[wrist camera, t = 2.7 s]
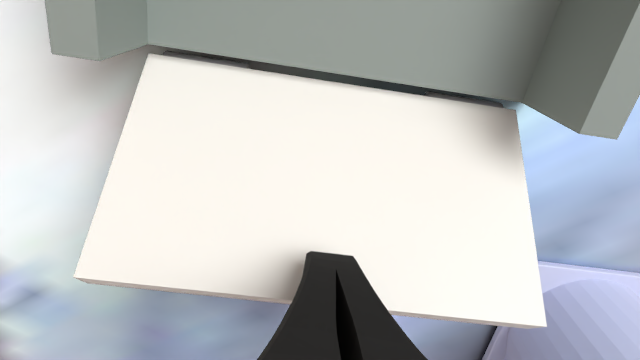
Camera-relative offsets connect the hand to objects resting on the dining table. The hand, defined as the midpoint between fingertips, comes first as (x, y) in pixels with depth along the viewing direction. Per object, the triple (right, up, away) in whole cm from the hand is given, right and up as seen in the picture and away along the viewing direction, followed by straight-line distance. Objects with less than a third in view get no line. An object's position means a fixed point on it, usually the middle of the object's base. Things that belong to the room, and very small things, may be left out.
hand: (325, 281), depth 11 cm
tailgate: (0, +3, +3) cm, 4 cm away
